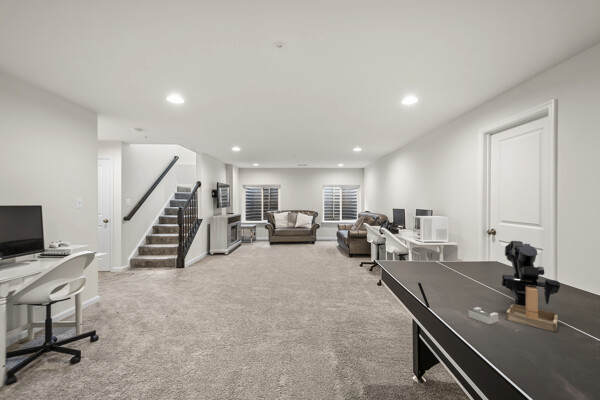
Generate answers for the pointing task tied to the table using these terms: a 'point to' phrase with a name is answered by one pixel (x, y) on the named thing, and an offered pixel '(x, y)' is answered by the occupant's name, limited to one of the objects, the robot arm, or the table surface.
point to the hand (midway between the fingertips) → (532, 301)
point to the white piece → (483, 315)
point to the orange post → (531, 302)
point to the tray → (544, 318)
